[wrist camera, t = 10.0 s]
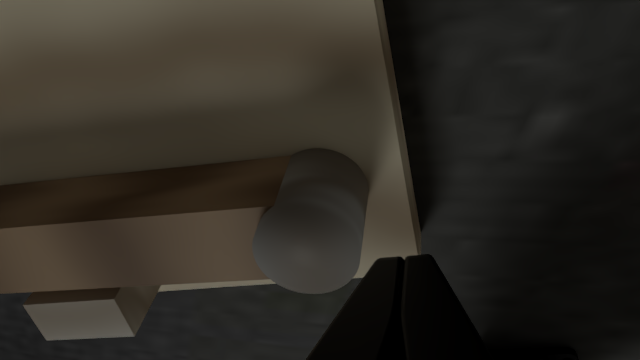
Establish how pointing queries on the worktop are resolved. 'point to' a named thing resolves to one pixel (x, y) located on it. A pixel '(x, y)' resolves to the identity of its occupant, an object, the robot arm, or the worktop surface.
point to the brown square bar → (189, 226)
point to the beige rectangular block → (197, 111)
